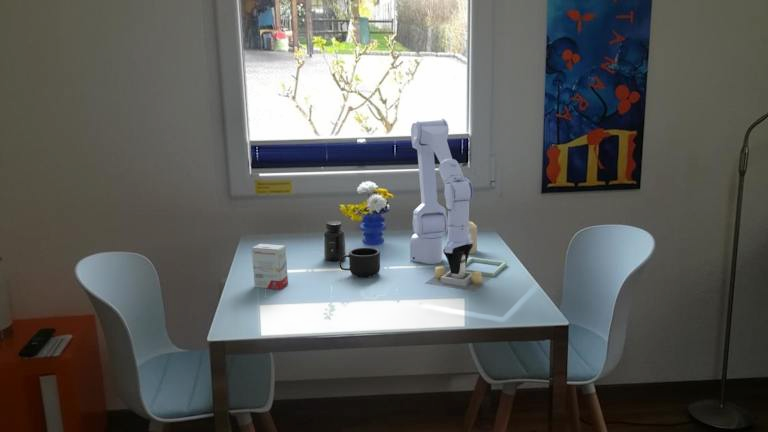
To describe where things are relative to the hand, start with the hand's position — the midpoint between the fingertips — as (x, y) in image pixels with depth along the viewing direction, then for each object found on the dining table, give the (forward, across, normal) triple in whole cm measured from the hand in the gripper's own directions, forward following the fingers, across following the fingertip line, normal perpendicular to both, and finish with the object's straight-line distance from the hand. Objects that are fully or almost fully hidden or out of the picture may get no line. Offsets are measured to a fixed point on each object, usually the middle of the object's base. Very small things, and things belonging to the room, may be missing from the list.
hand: (458, 271), depth 199 cm
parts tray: (+4, +13, -2) cm, 14 cm away
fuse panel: (+4, 0, 0) cm, 4 cm away
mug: (+4, -5, +29) cm, 30 cm away
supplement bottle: (+4, +5, +44) cm, 44 cm away
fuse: (+2, 0, 0) cm, 2 cm away
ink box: (+4, -24, +47) cm, 53 cm away
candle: (+4, +30, +9) cm, 32 cm away
